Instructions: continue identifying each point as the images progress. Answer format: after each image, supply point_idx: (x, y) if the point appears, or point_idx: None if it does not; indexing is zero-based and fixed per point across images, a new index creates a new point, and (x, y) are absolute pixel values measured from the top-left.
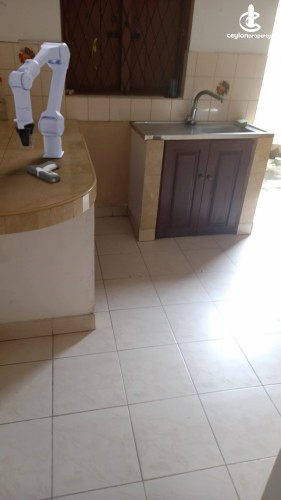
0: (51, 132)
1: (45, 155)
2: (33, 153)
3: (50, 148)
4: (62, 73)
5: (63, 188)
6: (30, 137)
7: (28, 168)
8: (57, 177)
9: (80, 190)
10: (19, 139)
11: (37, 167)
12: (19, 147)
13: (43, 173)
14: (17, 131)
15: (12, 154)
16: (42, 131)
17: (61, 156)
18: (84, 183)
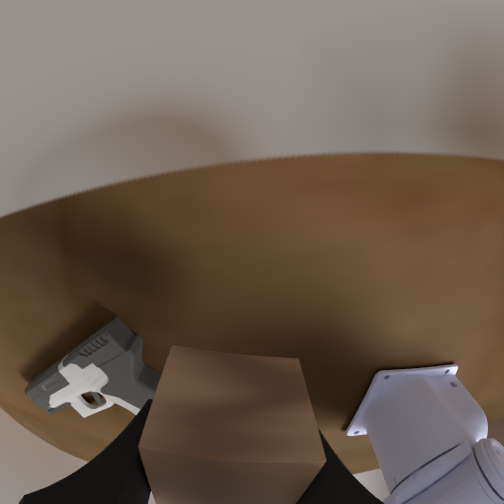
0: (412, 500)
1: (390, 381)
2: (458, 312)
3: (380, 433)
4: None
5: (13, 394)
6: (157, 501)
7: (105, 329)
8: (43, 407)
9: (21, 420)
10: (148, 428)
11: (105, 373)
12: (166, 360)
13: (44, 380)
14: (40, 493)
15: (467, 202)
16: (468, 457)
17: (353, 435)
18: (63, 443)
